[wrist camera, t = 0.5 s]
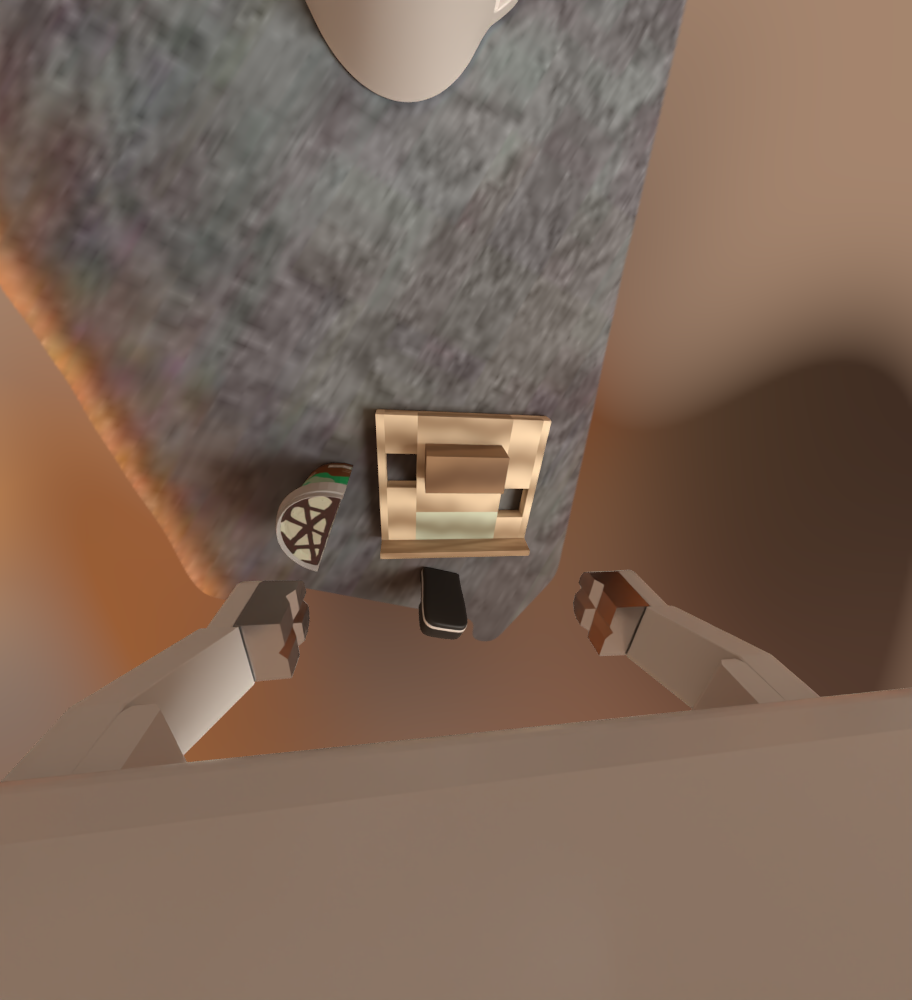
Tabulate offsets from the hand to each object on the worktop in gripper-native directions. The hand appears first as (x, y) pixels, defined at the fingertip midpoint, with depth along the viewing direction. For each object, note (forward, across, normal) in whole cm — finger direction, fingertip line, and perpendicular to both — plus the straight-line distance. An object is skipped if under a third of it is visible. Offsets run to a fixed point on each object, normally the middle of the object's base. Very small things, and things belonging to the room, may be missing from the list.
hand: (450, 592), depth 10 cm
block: (+33, -6, +7) cm, 35 cm away
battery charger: (+38, -4, +30) cm, 49 cm away
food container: (+36, +13, +12) cm, 40 cm away
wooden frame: (+36, -6, +11) cm, 38 cm away
